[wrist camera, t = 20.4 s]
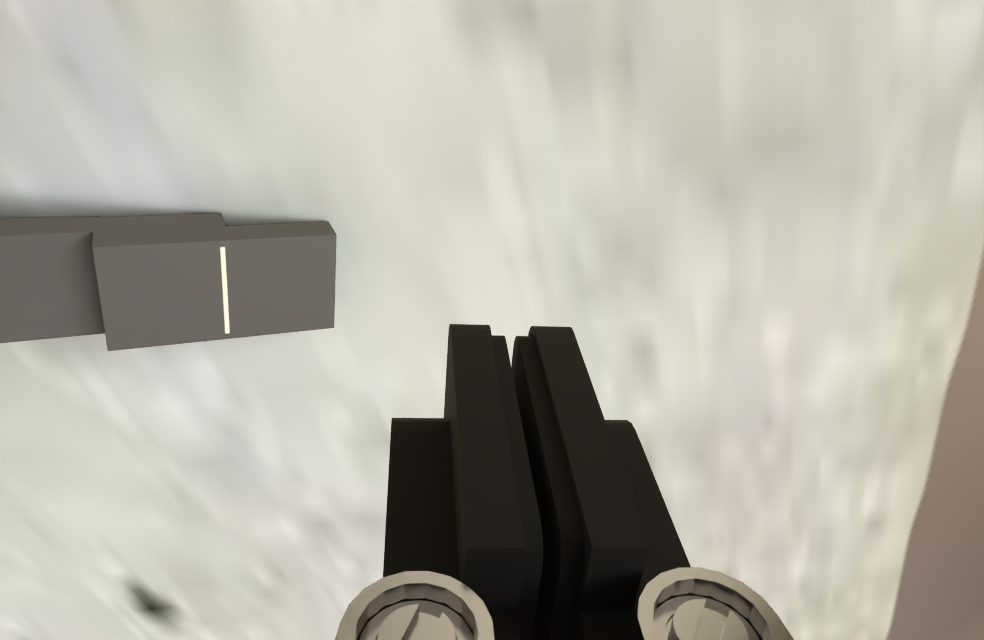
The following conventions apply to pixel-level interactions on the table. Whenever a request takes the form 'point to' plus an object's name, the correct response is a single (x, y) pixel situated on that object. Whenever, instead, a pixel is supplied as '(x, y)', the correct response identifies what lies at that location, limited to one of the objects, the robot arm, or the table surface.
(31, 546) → the table surface
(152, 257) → the domino
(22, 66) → the table surface
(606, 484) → the robot arm
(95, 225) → the domino
